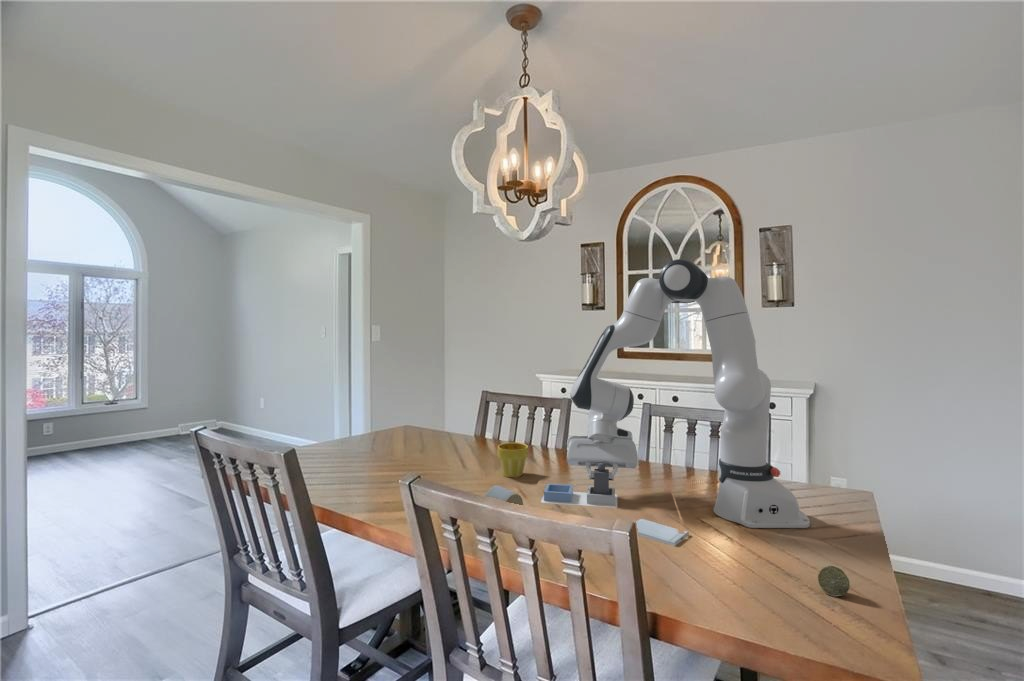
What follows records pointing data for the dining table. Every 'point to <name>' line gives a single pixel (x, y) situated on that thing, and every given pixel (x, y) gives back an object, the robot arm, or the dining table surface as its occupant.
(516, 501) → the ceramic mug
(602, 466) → the plug
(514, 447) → the plant pot
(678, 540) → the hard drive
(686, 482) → the dining table surface
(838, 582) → the lime
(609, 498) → the plate
